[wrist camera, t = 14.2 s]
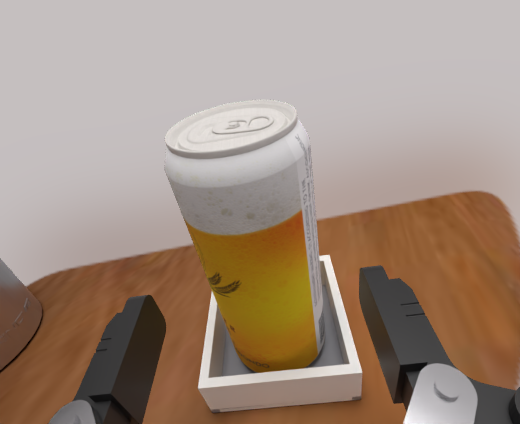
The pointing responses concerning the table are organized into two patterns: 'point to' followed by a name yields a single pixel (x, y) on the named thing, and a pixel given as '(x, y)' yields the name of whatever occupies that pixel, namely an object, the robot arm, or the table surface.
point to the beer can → (253, 226)
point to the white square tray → (288, 381)
